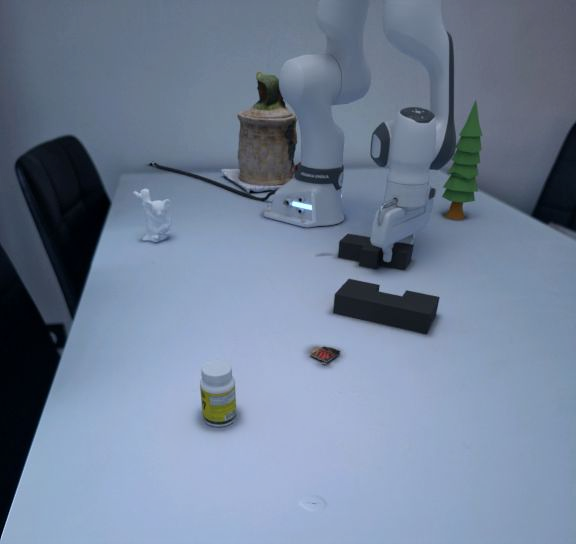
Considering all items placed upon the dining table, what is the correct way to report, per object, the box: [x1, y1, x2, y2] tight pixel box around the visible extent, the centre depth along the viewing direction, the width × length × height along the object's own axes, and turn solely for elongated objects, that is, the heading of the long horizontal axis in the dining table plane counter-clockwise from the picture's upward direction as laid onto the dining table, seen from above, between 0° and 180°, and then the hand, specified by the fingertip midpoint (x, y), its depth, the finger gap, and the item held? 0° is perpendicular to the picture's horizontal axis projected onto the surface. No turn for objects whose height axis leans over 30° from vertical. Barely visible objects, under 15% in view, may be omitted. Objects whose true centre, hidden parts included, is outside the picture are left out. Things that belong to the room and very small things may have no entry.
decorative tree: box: [441, 99, 483, 221], centre depth 144 cm, size 10×9×30 cm
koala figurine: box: [133, 188, 173, 243], centre depth 128 cm, size 8×7×12 cm
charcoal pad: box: [332, 278, 441, 335], centre depth 100 cm, size 18×8×4 cm, turn 65°
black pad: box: [337, 233, 415, 271], centre depth 122 cm, size 16×8×4 cm, turn 65°
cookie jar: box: [221, 70, 298, 194], centre depth 170 cm, size 25×25×32 cm
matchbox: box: [309, 345, 341, 366], centre depth 88 cm, size 5×5×1 cm
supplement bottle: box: [199, 359, 238, 428], centre depth 72 cm, size 5×5×8 cm
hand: (397, 255), depth 122 cm, fingers closed on black pad, 6 cm apart
